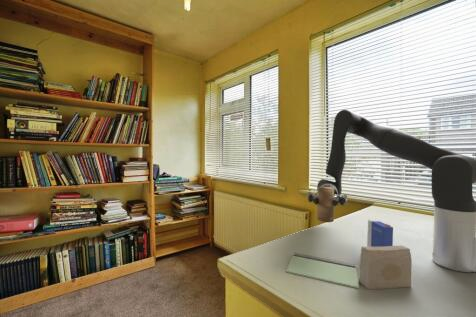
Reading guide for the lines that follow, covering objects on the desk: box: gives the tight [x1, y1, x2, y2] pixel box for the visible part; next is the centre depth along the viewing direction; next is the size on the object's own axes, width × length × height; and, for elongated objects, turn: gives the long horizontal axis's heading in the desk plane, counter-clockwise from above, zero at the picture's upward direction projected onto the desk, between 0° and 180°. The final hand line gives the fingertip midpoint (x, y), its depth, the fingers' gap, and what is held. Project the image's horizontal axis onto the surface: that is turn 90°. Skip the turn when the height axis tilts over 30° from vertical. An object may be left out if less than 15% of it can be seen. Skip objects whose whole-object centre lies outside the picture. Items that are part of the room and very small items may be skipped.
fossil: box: [358, 245, 413, 290], centre depth 57 cm, size 12×4×10 cm, turn 97°
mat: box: [286, 255, 360, 290], centre depth 64 cm, size 18×10×1 cm, turn 66°
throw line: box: [293, 252, 357, 269], centre depth 70 cm, size 18×2×1 cm, turn 66°
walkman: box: [366, 219, 394, 247], centre depth 71 cm, size 8×3×12 cm, turn 3°
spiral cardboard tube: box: [316, 187, 335, 223], centre depth 76 cm, size 5×5×11 cm
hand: (325, 202), depth 74 cm, fingers closed on spiral cardboard tube, 5 cm apart
